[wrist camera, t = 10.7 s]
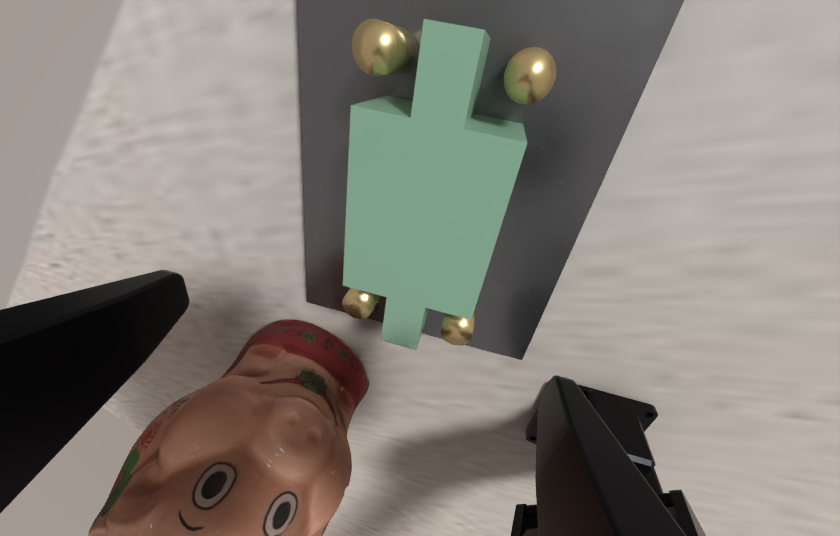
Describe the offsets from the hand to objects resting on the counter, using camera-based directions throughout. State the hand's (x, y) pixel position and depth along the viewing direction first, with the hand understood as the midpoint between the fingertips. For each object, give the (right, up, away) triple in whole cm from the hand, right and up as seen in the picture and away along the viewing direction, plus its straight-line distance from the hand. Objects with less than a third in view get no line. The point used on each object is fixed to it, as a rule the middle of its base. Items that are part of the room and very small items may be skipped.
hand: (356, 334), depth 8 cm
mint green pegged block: (+2, +5, +9) cm, 10 cm away
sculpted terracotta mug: (-8, -7, +20) cm, 23 cm away
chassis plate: (+3, +6, +10) cm, 12 cm away
